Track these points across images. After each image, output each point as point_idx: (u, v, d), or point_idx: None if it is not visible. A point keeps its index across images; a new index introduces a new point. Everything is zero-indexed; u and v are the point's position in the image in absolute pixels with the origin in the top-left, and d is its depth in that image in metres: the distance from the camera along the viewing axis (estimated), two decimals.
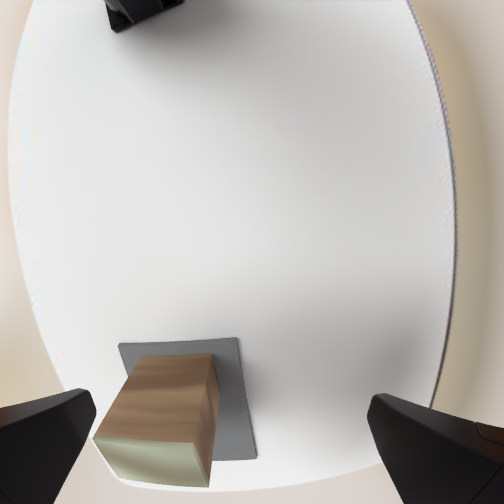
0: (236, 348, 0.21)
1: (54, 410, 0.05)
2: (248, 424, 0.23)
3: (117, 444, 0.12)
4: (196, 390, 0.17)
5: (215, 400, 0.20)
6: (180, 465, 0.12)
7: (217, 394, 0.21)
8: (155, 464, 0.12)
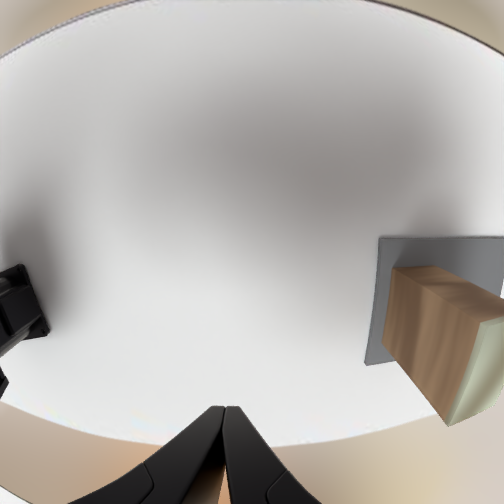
0: (390, 240, 0.18)
1: (211, 438, 0.06)
2: (472, 240, 0.18)
3: (460, 403, 0.10)
4: (427, 297, 0.14)
5: (441, 275, 0.16)
6: (500, 341, 0.09)
7: (436, 270, 0.17)
8: (491, 367, 0.09)
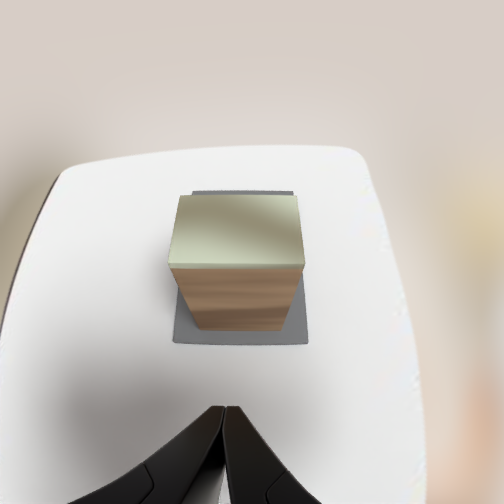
0: (174, 332, 0.21)
1: (211, 437, 0.06)
2: None
3: (267, 261, 0.13)
4: (196, 307, 0.17)
5: None
6: (194, 233, 0.13)
7: None
8: (226, 231, 0.13)
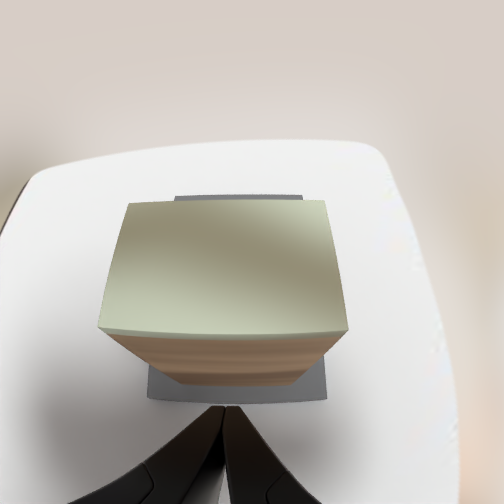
0: (149, 385, 0.14)
1: (211, 438, 0.06)
2: None
3: (277, 329, 0.06)
4: (168, 369, 0.11)
5: None
6: (144, 272, 0.07)
7: None
8: (201, 268, 0.07)
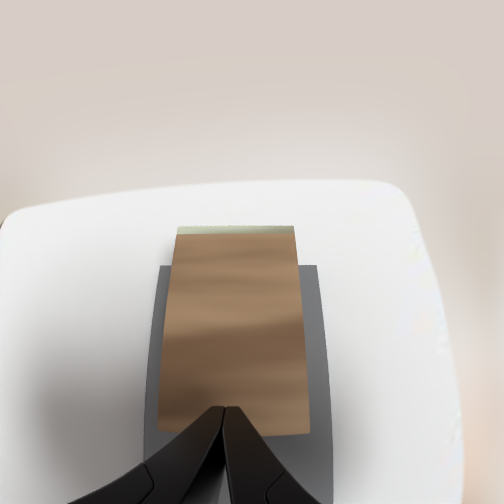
0: None
1: (211, 438, 0.06)
2: (151, 353, 0.15)
3: (261, 227, 0.15)
4: (175, 323, 0.12)
5: None
6: None
7: None
8: None
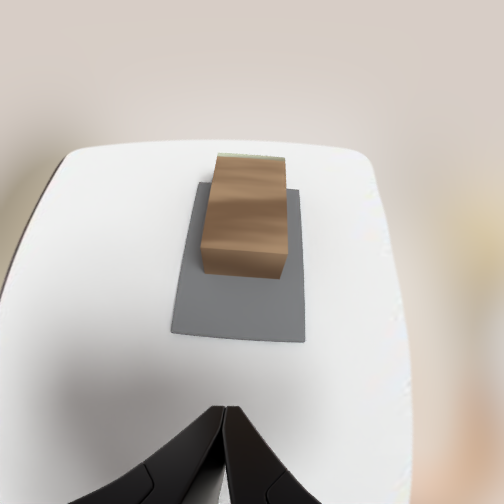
0: (173, 322, 0.21)
1: (211, 438, 0.06)
2: (190, 229, 0.25)
3: (266, 157, 0.25)
4: (216, 195, 0.22)
5: None
6: None
7: None
8: None
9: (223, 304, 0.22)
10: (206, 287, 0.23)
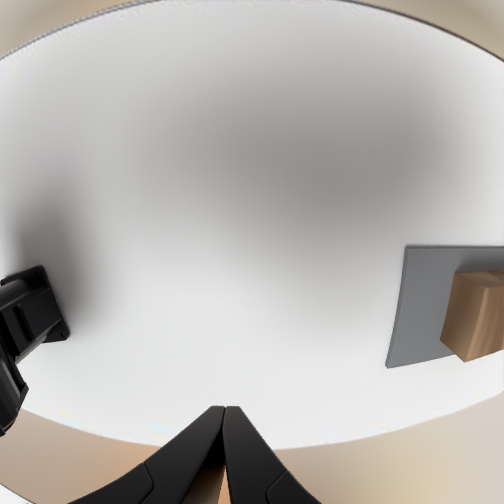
0: (416, 249, 0.19)
1: (211, 438, 0.06)
2: (487, 250, 0.19)
3: None
4: None
5: (480, 275, 0.18)
6: None
7: (469, 275, 0.18)
8: None
9: (428, 296, 0.19)
10: (443, 277, 0.19)
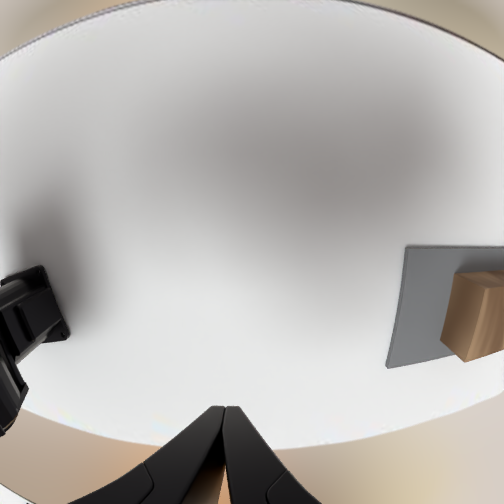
0: (416, 249, 0.19)
1: (211, 438, 0.06)
2: (488, 250, 0.19)
3: None
4: None
5: (481, 275, 0.18)
6: None
7: (470, 275, 0.18)
8: None
9: (428, 296, 0.19)
10: (443, 277, 0.19)
